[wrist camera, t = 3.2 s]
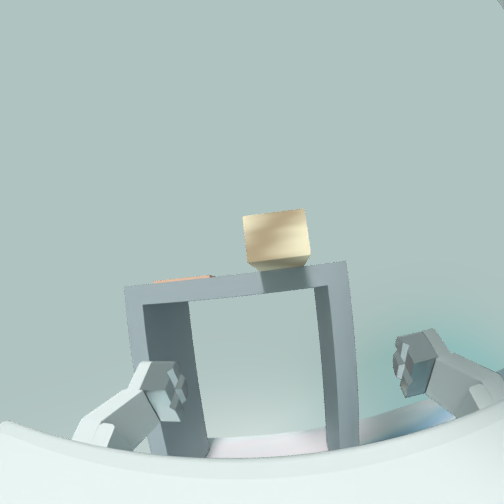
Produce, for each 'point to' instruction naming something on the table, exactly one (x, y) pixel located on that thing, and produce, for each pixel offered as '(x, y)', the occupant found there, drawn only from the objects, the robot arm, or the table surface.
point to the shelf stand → (210, 287)
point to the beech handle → (277, 240)
